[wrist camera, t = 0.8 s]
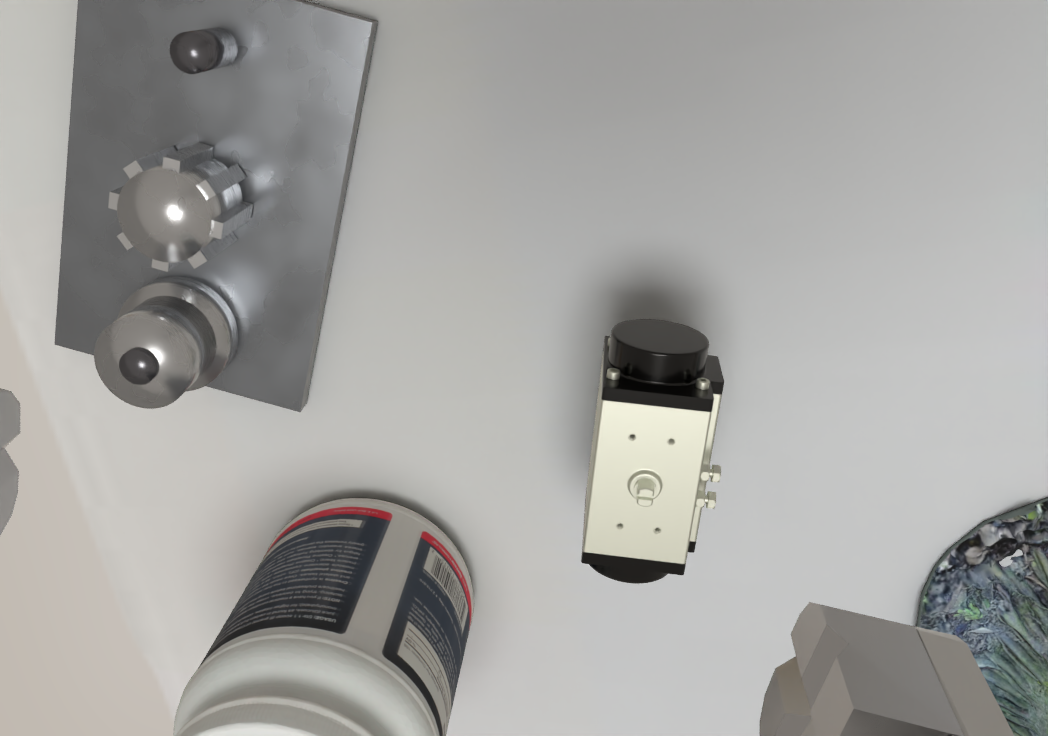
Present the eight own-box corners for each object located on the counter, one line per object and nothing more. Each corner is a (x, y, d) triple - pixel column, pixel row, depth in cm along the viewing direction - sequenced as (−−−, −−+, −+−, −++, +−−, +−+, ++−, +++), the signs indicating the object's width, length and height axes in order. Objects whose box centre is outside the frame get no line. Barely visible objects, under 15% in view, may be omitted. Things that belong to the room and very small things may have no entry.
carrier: (94, -59, 46) (14, -63, 40) (378, 21, 46) (340, 29, 40) (66, 336, 54) (-5, 383, 48) (306, 403, 55) (266, 458, 48)
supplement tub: (246, 618, 61) (102, 869, 44) (305, 454, 56) (169, 664, 39) (435, 693, 62) (366, 966, 45) (511, 537, 57) (464, 778, 40)
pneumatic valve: (585, 475, 55) (577, 603, 44) (609, 278, 50) (606, 365, 39) (683, 486, 54) (699, 618, 43) (716, 289, 50) (743, 380, 39)
